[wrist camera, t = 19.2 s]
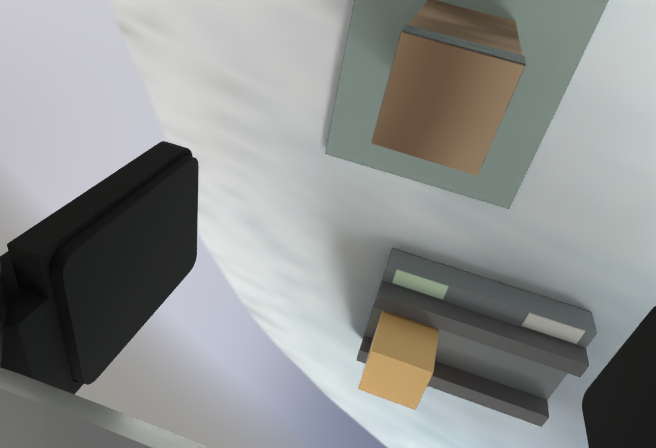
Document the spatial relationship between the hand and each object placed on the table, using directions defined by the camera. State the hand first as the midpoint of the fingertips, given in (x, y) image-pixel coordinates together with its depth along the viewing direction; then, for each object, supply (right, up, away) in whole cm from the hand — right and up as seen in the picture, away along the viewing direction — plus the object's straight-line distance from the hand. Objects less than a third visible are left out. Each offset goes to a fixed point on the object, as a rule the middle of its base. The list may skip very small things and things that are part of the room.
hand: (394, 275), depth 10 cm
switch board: (+9, -7, +26) cm, 29 cm away
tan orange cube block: (+4, -7, +25) cm, 26 cm away
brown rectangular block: (+6, +10, +16) cm, 20 cm away
